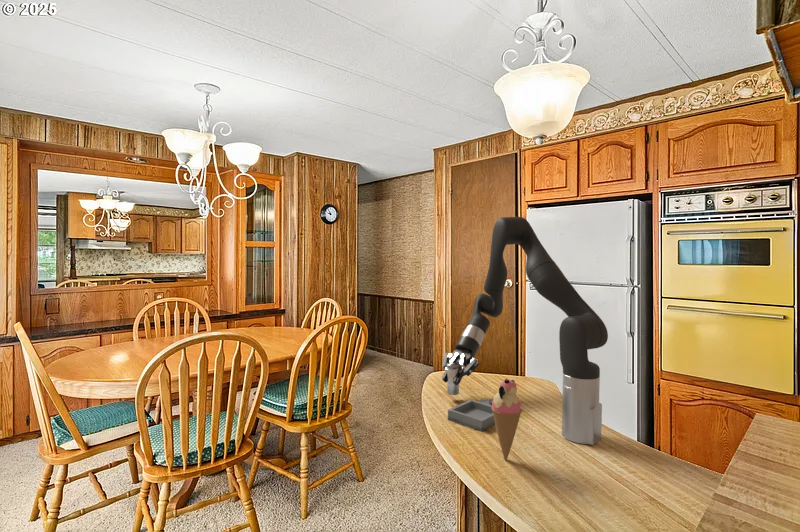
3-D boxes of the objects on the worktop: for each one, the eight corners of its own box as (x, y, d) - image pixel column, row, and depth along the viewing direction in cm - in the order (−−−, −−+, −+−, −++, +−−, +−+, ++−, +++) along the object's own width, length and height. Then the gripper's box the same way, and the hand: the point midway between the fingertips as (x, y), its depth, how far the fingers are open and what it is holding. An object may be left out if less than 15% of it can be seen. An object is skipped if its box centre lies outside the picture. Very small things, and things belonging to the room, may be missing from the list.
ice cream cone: (513, 470, 97) (514, 385, 97) (485, 461, 102) (485, 379, 101) (527, 457, 104) (528, 377, 103) (500, 448, 108) (501, 371, 107)
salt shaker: (462, 392, 143) (462, 363, 142) (454, 396, 139) (454, 366, 139) (451, 389, 146) (451, 361, 146) (443, 393, 143) (443, 363, 142)
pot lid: (514, 408, 135) (515, 391, 135) (498, 417, 128) (498, 399, 128) (488, 400, 142) (488, 384, 142) (471, 408, 135) (471, 391, 135)
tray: (504, 419, 127) (504, 409, 127) (481, 431, 118) (481, 421, 118) (471, 408, 135) (471, 399, 135) (447, 419, 127) (447, 409, 127)
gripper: (449, 332, 152) (428, 372, 144) (483, 337, 142) (461, 380, 134) (458, 344, 156) (438, 384, 148) (491, 350, 146) (471, 393, 138)
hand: (449, 382), depth 141 cm, fingers closed on salt shaker, 4 cm apart
